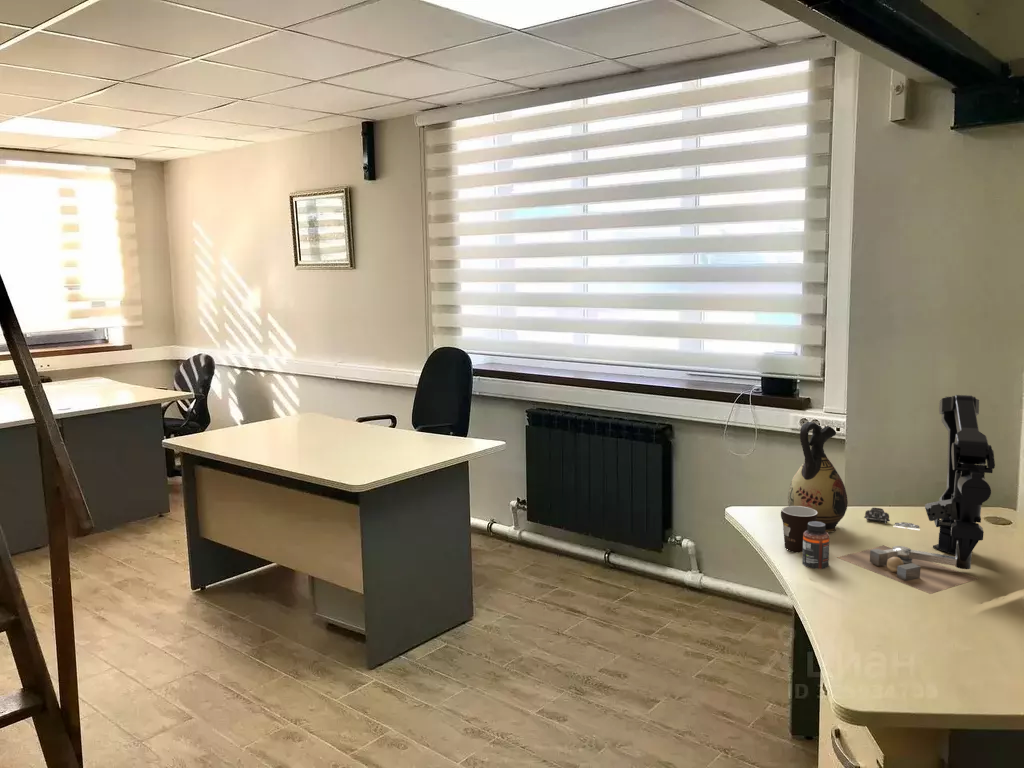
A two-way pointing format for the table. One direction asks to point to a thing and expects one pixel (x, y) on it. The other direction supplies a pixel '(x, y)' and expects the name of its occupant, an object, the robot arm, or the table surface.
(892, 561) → the tan ball
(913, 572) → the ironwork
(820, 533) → the supplement bottle
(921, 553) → the lever
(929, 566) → the board
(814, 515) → the coffee mug
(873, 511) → the car cutout
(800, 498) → the ceramic jug
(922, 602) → the table surface
